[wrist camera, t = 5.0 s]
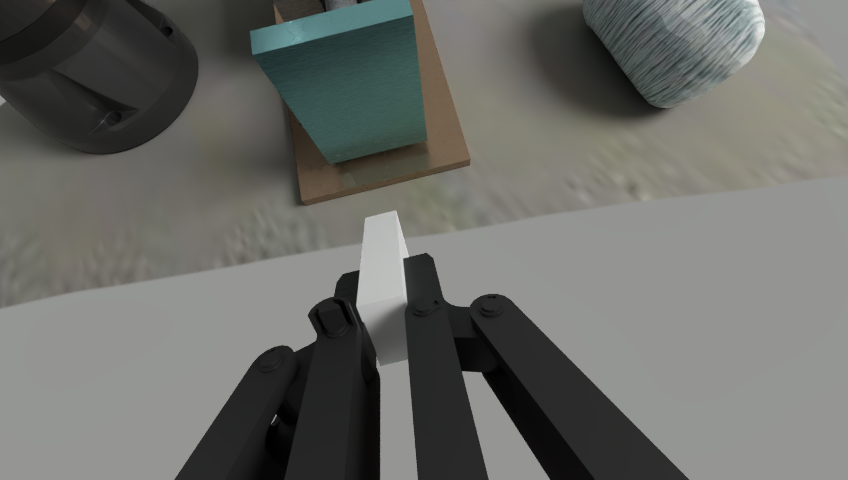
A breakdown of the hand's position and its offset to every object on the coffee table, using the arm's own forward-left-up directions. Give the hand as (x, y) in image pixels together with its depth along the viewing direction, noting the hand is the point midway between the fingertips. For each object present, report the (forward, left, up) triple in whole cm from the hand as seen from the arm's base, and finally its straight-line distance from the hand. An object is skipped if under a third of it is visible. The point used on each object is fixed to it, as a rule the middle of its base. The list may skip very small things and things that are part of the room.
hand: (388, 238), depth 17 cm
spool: (+13, +24, -10) cm, 29 cm away
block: (-9, +15, -8) cm, 19 cm away
